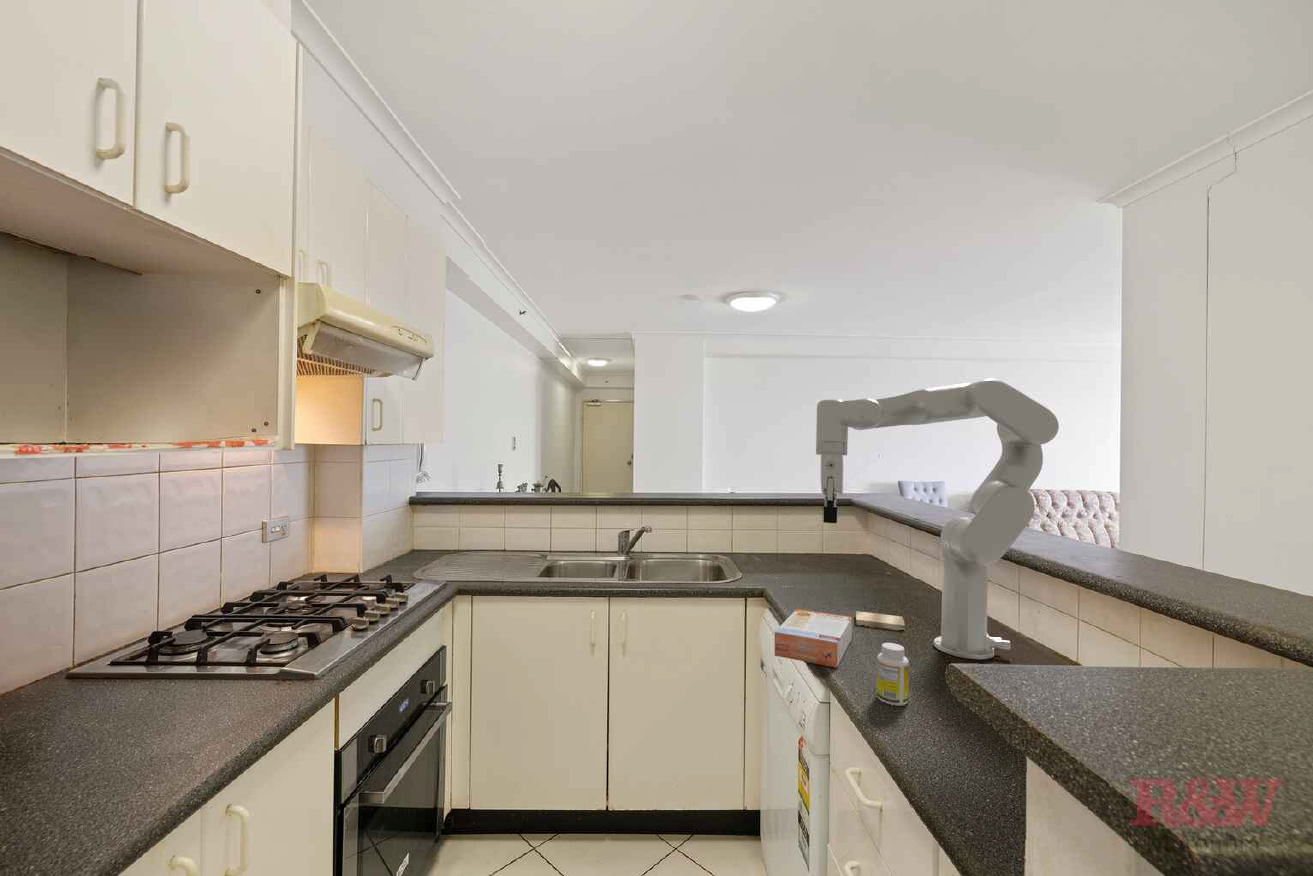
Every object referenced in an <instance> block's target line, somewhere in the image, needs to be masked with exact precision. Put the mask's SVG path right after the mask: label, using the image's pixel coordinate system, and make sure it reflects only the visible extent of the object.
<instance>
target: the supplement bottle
mask: <svg viewBox="0 0 1313 876" xmlns="http://www.w3.org/2000/svg"><path fill="white" fill-rule="evenodd" d="M880 651H881V652H880V653H878V655H877V656H876V697H877V699H878V700H879V701H880V702H882V703H884V702H885V703H884V704H886V703H887V705H889V704H890V706H894V705H895V707H896V706H900V707H901V706H905V705H907V703H908V702H909V671H910V670H909V667H910V663H909V662H910V661H909V659H908V658H907V656H905V654H906V653H905V647H904V646H902V645H901V644H897V643H893V642H884V643H882V644H881V650H880Z"/></svg>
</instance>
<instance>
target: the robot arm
mask: <svg viewBox="0 0 1313 876" xmlns="http://www.w3.org/2000/svg"><path fill="white" fill-rule="evenodd" d="M983 417H988V418H989V419H990V420H992V421H993V422H994V423H996V431H997V435H998V437H999V440H1000V443H1001V450H1002V451H1001V455H1000V457H999V459H998V461H997V462H996V464H995V465H994V467H993V469H992V470H991V471H990V472H989V473H988V475H987V476H986V477H985V479H984V480H983V481H982V483H980V484H979V486H978V487H977V488H976V490H975V491H974V493H973V495H972V497H971V507H972V509H973V511H974V512H975V513H976V514H975V515H974V517H973V518H971V517H966V516H959V517H953V518H952V519H950V520H948V521H947V522H946V523H945V524H944V525H943V527H942V530H941V533H940V540H939V542H940V551H941V559H942V560H941V561H942V580H941V582H942V585H941V586H942V587H941V621H940V622H941V624H940V625H941V626H940V627H941V629H940V631H941V632H940V634H941V635H940V636H937V637H935V638H934V639H933V646H934V647H935V648H936V649H937V650H939V651H941V652H943V653H945V654H948V655H951V656H954V657H958V658H961V659H962V658H963V659H969V660H990V659H992V658H994V656H995V648H996V649H997V648H998V649H1001V650H1009V651H1010V650H1011V647H1012V645H1011V641H1010V640H1004V639H1002V638H1001V637H995V636H994V637H992V636H990V635H989V633H988V632H987V631H988V596H989V595H988V593H989V592H988V591H989V572H988V571H989V569H988V566H989V565H993V564H994V563H996V562H998V561H999V560H1000V559H1001V558H1002V557H1003V556H1004V555H1005V554H1006V552H1008V551H1009V549H1010V548H1011V546H1013V544H1014V543H1015V541H1016V540H1017V539H1018V538H1019V537H1020V535H1021V534H1022V532H1023V531H1024V530H1025V529H1026V527H1027V526H1028V525H1029V524H1030V522H1031V520H1032V519H1033V516H1034V513H1035V508H1036V507H1035V505H1036V504H1035V500H1034V497H1033V495H1032V493H1030V492H1029V490H1030V489H1031V487H1033V486H1032V485H1033V484H1034V482H1035V481H1037V478H1038V477H1039V475H1040V473H1041V470H1042V469H1043V468H1042V467H1043V463H1044V455H1043V454H1044V453H1043V448H1042V445H1045V444H1047V443H1049V442H1051V441H1052V440H1053V439H1054V438H1055V437H1056V436H1057V434H1058V433H1059V432H1058V431H1059V428H1060V427H1059V420H1058V419H1057V416H1056V415H1055V413H1053V412H1052V411H1051V410H1050V409H1049V408H1047V407H1045V406H1044V405H1043V404H1041V403H1039V402H1038V401H1036V400H1035V399H1032V398H1031V397H1029V396H1027V395H1026V394H1024V393H1023V392H1022V391H1020V390H1018V389H1016V388H1015V387H1013V386H1012V385H1009V384H1008V383H1006V382H1004V381H1002V380H999V379H996V378H987V379H986V378H985V379H982V380H978V381H973V382H967V383H959V384H953V385H945V386H938V387H931V388H930V387H929V388H923V389H919V390H918V389H917V390H914V391H911V392H910V391H909V392H907V393H903V394H900V395H896V396H891V397H890V396H889V397H884V398H877V399H876V398H875V399H872V398H859V399H850V400H849V399H848V400H845V399H844V400H843V399H823V400H822V399H821V400H820V401H819V402H817V405H816V432H815V434H816V435H815V436H816V437H815V440H816V441H815V455H816V456H817V455H819V456H820V489H821V495H824V506H823V518H822V519H823V520H822V521H823V523H824V524H837V523H838V506H837V496H838V494H839V496H842V495H843V493H844V456H848V444H849V442H848V441H849V440H848V438H849V428H851V429H853V430H857V431H865V430H872V429H873V430H874V429H879V428H887V427H888V428H889V427H898V426H917V425H918V426H920V425H929V424H935V423H937V424H939V423H943V422H952V421H961V420H969V419H977V418H983Z"/></svg>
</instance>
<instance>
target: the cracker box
mask: <svg viewBox="0 0 1313 876" xmlns="http://www.w3.org/2000/svg"><path fill="white" fill-rule="evenodd" d="M852 626H853V616H848V615H840V614H834V613H827V612H820V611H813V610H808V609H806V610H805V609H800V608H796V609H795V610H794V611H793V612H792V614H791V615H789V616H788V617H787V618H786V619H785V620H784V622H783V623H782V624H781V625H779V627H778V628H777V629H776V630H774V656H775V657H780V658H785V659H790V660H795V661H800V662H806V663H812V664H816V665H821V666H827V667H831V668H836V669H837V668H838V667H839V664H840V663H841V661H842V659H843V658H844V654H845V652H846V651H847V649H848V647H849V645H850V643H851V641H852V636H853V635H852V634H853V633H852V632H853V627H852Z"/></svg>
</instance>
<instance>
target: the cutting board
mask: <svg viewBox="0 0 1313 876" xmlns="http://www.w3.org/2000/svg"><path fill="white" fill-rule="evenodd" d="M855 624H857V625H856V626H860V625H865V626H864V627H867V626H869V628H875V627H876V628H878V629H884V630H894V631H899V630H904V631H903V632H906V623H905V621H904V617H903V616H899V615H891V614H884V613H874V612H866V611H860V610H859V611H858V610H857V611H856V610H855Z"/></svg>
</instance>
